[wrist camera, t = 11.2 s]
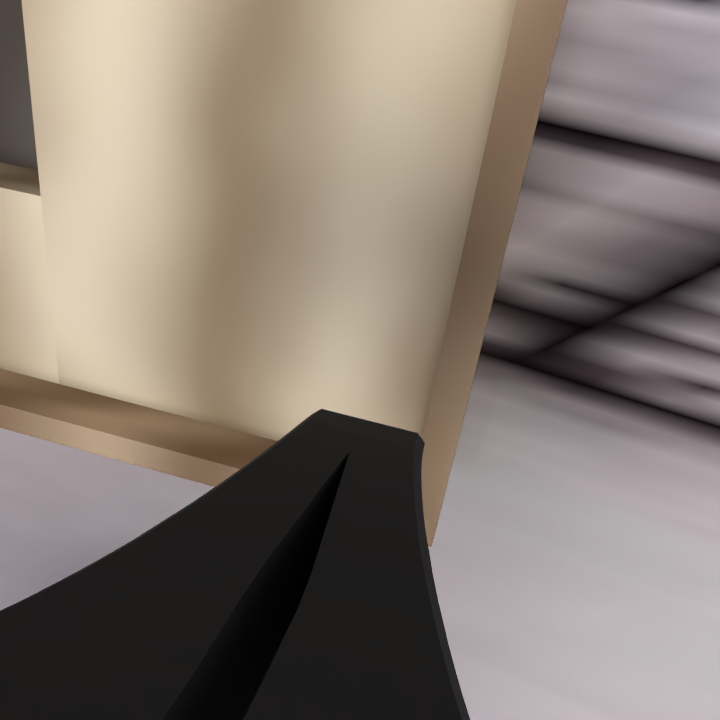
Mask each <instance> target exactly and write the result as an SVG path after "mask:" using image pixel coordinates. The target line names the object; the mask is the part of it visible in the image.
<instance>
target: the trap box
mask: <svg viewBox="0 0 720 720" xmlns="http://www.w3.org/2000/svg"><path fill="white" fill-rule="evenodd" d="M566 4H567V0H0V428H4V429H7V430H11V431H15V432H18V433H22V434H26V435H29V436H33V437H36V438H40V439H44V440H47V441H51V442H55V443H58V444H62V445H65V446H69V447H73V448H76V449H80V450H84V451H87V452H91V453H94V454H98V455H102V456H105V457H109V458H113V459H116V460H120V461H123V462H127V463H131V464H134V465H138V466H142V467H145V468H149V469H152V470H156V471H160V472H163V473H167V474H171V475H174V476H178V477H181V478H185V479H189V480H192V481H196V482H200V483H203V484H207V485H210V486H214V487H216V486H217V485H218V484H220V483H221V482H223V481H224V480H226V479H227V478H228V477H230V476H231V475H233V474H234V473H235V472H237V471H238V470H240V469H241V468H242V467H244V466H245V465H247V464H248V463H249V462H251V461H252V460H253V459H255V458H256V457H257V456H259V455H260V454H261V453H263V452H264V451H265V450H267V449H268V448H269V447H271V446H272V445H273V444H275V443H276V442H277V441H278V440H280V439H281V438H282V437H284V436H285V435H286V434H287V433H289V432H290V431H291V430H292V429H294V428H295V427H296V426H297V425H299V424H300V423H301V422H302V421H304V420H305V419H306V418H307V417H309V416H310V415H311V414H313V413H315V412H316V411H318V410H320V409H325V410H329V411H333V412H337V413H340V414H344V415H348V416H352V417H356V418H360V419H364V420H368V421H372V422H376V423H380V424H384V425H388V426H392V427H396V428H400V429H404V430H408V431H412V432H416V433H418V434H419V435H420V437H421V438H422V440H423V441H424V443H425V446H424V450H423V455H422V468H421V483H422V500H423V513H424V522H425V530H426V536H427V542H428V546H432V543H433V539H434V535H435V531H436V527H437V523H438V519H439V515H440V511H441V507H442V503H443V499H444V495H445V491H446V487H447V483H448V479H449V475H450V471H451V467H452V463H453V459H454V455H455V451H456V447H457V443H458V439H459V434H460V430H461V426H462V422H463V418H464V414H465V410H466V406H467V402H468V398H469V394H470V390H471V386H472V382H473V378H474V374H475V370H476V366H477V362H478V358H479V354H480V350H481V346H482V342H483V338H484V334H485V330H486V326H487V322H488V318H489V314H490V310H491V306H492V302H493V298H494V294H495V290H496V286H497V282H498V278H499V273H500V269H501V265H502V261H503V257H504V253H505V249H506V245H507V241H508V237H509V233H510V229H511V225H512V221H513V217H514V213H515V209H516V205H517V201H518V197H519V193H520V189H521V185H522V181H523V177H524V173H525V169H526V165H527V161H528V157H529V153H530V149H531V145H532V141H533V137H534V133H535V129H536V125H537V121H538V117H539V112H540V108H541V104H542V100H543V96H544V92H545V88H546V84H547V80H548V76H549V72H550V68H551V64H552V60H553V56H554V52H555V48H556V44H557V40H558V36H559V32H560V28H561V24H562V20H563V16H564V12H565V8H566Z"/></svg>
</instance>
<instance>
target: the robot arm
mask: <svg viewBox="0 0 720 720" xmlns="http://www.w3.org/2000/svg"><path fill="white" fill-rule="evenodd" d="M424 446H425V443H424V441H423V440H422V438H421V437H420V435H419V434H418V433H416V432H412V431H408V430H404V429H400V428H396V427H392V426H388V425H384V424H380V423H376V422H372V421H368V420H364V419H360V418H356V417H352V416H348V415H344V414H340V413H337V412H333V411H329V410H325V409H320V410H318V411H316V412H315V413H313V414H311V415H310V416H309V417H307V418H306V419H305V420H304V421H302V422H301V423H300V424H299V425H297V426H296V427H295V428H294V429H292V430H291V431H290V432H289V433H287V434H286V435H285V436H284V437H282V438H281V439H280V440H278V441H277V442H276V443H275V444H273V445H272V446H271V447H269V448H268V449H267V450H265V451H264V452H263V453H261V454H260V455H259V456H257V457H256V458H255V459H253V460H252V461H251V462H249V463H248V464H247V465H245V466H244V467H242V468H241V469H240V470H238V471H237V472H235V473H234V474H233V475H231V476H230V477H228V478H227V479H226V480H224V481H223V482H221V483H220V484H218V485H217V486H216V487H214V488H213V489H211V490H210V491H209V492H207V493H206V494H204V495H203V496H201V497H200V498H198V499H197V500H195V501H194V502H192V503H191V504H189V505H188V506H186V507H185V508H183V509H181V510H180V511H178V512H177V513H175V514H174V515H172V516H170V517H169V518H167V519H166V520H164V521H162V522H161V523H159V524H158V525H156V526H155V527H153V528H151V529H150V530H148V531H147V532H145V533H143V534H142V535H140V536H139V537H137V538H135V539H134V540H132V541H131V542H129V543H127V544H126V545H124V546H122V547H120V548H119V549H117V550H115V551H113V552H112V553H110V554H108V555H106V556H105V557H103V558H101V559H100V560H98V561H96V562H94V563H92V564H91V565H89V566H87V567H85V568H83V569H81V570H80V571H78V572H76V573H74V574H72V575H70V576H68V577H66V578H65V579H63V580H61V581H59V582H57V583H55V584H53V585H51V586H49V587H47V588H45V589H44V590H42V591H40V592H38V593H36V594H34V595H32V596H30V597H28V598H26V599H24V600H22V601H20V602H18V603H16V604H13V605H11V606H9V607H7V608H5V609H3V610H1V611H0V720H470V718H469V715H468V712H467V708H466V705H465V702H464V699H463V696H462V692H461V689H460V685H459V682H458V678H457V675H456V671H455V668H454V664H453V660H452V656H451V653H450V649H449V645H448V641H447V637H446V633H445V628H444V624H443V620H442V616H441V611H440V607H439V603H438V598H437V593H436V588H435V583H434V578H433V574H432V567H431V561H430V555H429V549H428V542H427V536H426V530H425V522H424V513H423V500H422V483H421V468H422V455H423V450H424Z"/></svg>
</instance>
